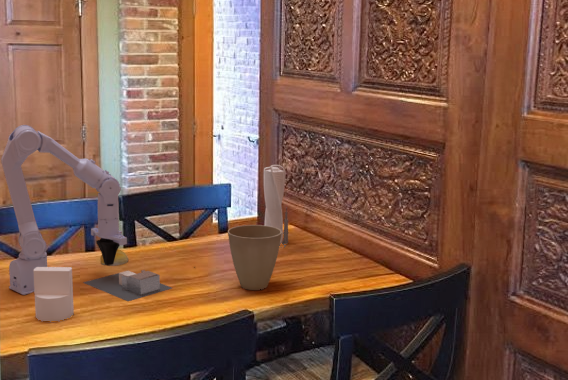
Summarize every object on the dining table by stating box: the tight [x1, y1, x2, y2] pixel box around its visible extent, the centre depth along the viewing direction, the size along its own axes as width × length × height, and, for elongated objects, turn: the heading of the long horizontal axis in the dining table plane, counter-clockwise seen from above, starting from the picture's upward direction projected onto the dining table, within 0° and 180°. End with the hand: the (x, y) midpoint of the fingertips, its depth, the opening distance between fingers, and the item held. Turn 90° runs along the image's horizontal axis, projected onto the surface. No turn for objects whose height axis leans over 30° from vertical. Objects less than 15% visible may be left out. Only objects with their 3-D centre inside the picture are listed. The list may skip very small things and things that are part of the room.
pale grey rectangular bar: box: [118, 270, 137, 285], centre depth 206 cm, size 11×3×3 cm, turn 48°
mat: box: [82, 272, 173, 302], centre depth 208 cm, size 15×21×1 cm
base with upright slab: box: [33, 266, 75, 323], centre depth 185 cm, size 9×9×12 cm
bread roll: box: [100, 248, 129, 267], centre depth 229 cm, size 8×9×4 cm
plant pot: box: [227, 224, 282, 291], centre depth 209 cm, size 15×15×16 cm
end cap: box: [122, 269, 161, 296], centre depth 204 cm, size 8×8×4 cm
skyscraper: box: [263, 164, 289, 248], centre depth 250 cm, size 8×8×28 cm
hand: (109, 264), depth 213 cm, fingers closed
